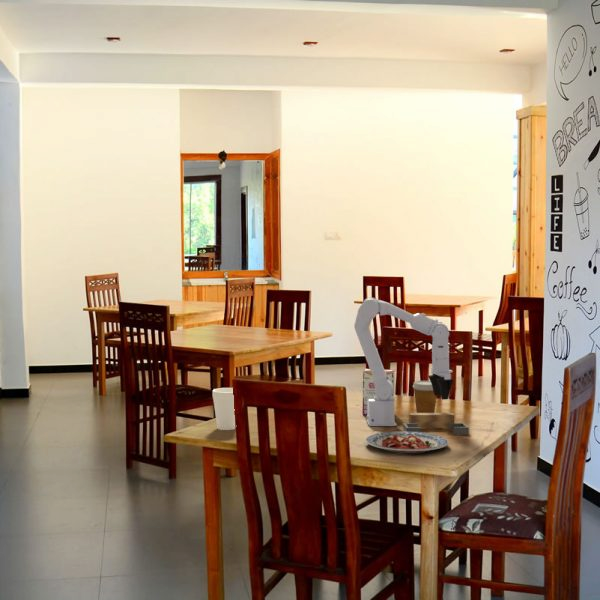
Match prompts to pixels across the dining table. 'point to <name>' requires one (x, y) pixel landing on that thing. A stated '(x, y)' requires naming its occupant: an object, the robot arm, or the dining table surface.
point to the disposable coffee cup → (424, 397)
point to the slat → (432, 420)
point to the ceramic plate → (406, 441)
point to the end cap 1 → (411, 427)
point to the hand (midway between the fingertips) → (441, 397)
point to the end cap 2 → (459, 428)
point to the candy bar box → (372, 386)
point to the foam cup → (224, 408)
